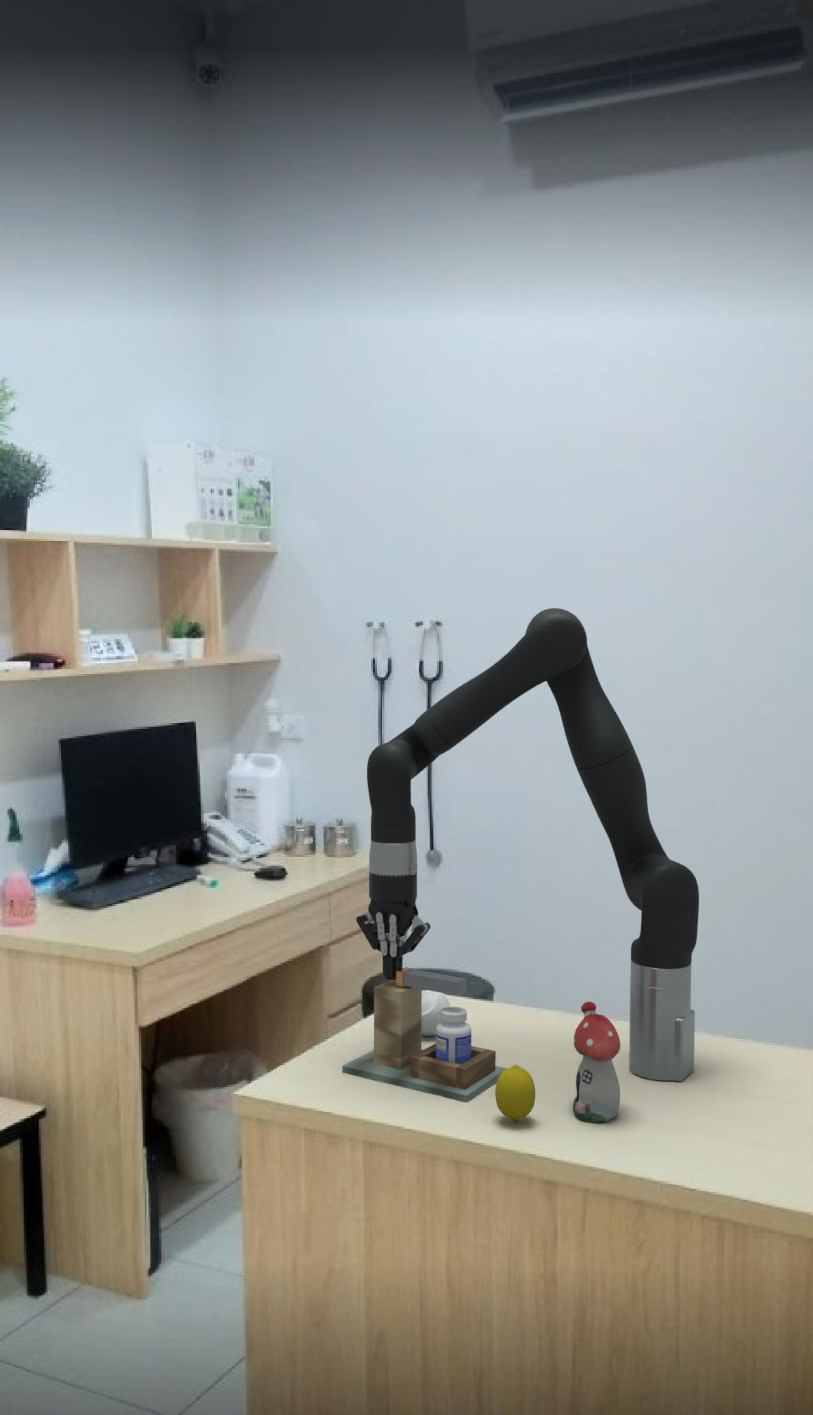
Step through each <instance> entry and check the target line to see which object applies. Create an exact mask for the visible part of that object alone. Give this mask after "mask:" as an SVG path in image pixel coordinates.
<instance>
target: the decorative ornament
mask: <svg viewBox="0 0 813 1415" xmlns="http://www.w3.org/2000/svg"><path fill="white" fill-rule="evenodd" d="M596 1010H597V1004H595V1002H592V1001H585V1002H584V1003H582V1005H581V1007H580V1011H581V1012H582V1014H583V1015H584V1017H583V1018H582V1020H581V1021H580V1022H579V1023H578V1025H577V1027H576V1029H575V1031H574V1036H573V1046H574V1049H575V1050H576V1052H577V1053H578V1054H579V1055H581V1056H582V1059H581V1061H580V1064H579V1065H578V1068H577V1069H578V1070H577V1072H576V1078H575V1088H576V1097H575V1098H574V1100H573V1103H572V1104H573V1105H572V1111H573V1114H574V1115H575V1117H576V1118H578V1120H579V1119H580V1120H581V1121H584V1122H587V1123H595V1124H601V1123H602V1124H603V1123H607V1122H609V1121H610V1120H612V1119H613V1118H615V1117H616V1116H617V1113H618V1112H619V1108H620V1104H621V1103H620V1102H621V1087H620V1081H619V1077H618V1075H617V1072H616V1068H615V1066H614V1063H613V1059H614V1058H615V1057H616V1056H617V1055H618V1054H619V1052H620V1050H621V1040H620V1036H619V1034H618V1032H617V1029H616V1027H615V1026H614V1024H613V1023H612V1021H611V1020H610V1019H609V1018H608V1017H607V1016H605V1015H603V1014H599V1013H597V1012H596Z"/></svg>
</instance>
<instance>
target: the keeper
mask: <svg viewBox="0 0 813 1415" xmlns="http://www.w3.org/2000/svg"><path fill="white" fill-rule="evenodd" d="M396 985H397V986H408V987H413V988H419V989H422V990H423V991H426V990H429V991H435V992H440V993H443V994H446V995H451V996H452V995H453V996H457V997H459V996H460V995H463V994H465V993H467V978H464V977H459V976H454V975H448V974H447V975H446V974H441V973H435V972H430V971H424V970H419V969H414V968H413V967H412V968H411V967H403V968H402V969H401V970H398V971H396Z"/></svg>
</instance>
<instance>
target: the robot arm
mask: <svg viewBox="0 0 813 1415" xmlns="http://www.w3.org/2000/svg"><path fill="white" fill-rule="evenodd" d="M545 682H546V683H547V686H548V687H549V689H550V691H551V693H552V695H553V697H554V699H555V702H556V705H557V707H558V710H559V714H560V718H561V723H562V726H563V731H564V734H565V738H566V741H567V742H566V743H567V745H568V747H569V750H570V754H571V757H572V759H573V763H574V765H575V768H576V771H577V772H578V775H579V776H580V780H581V782H582V784H583V786H584V788H585V791H586V793H587V795H588V796H589V799H590V802H591V804H592V806H593V809H594V810H595V812H596V815H597V817H598V819H599V821H600V823H601V825H602V827H603V830H604V831H605V834H606V836H607V838H608V839H609V844H610V845H611V848H612V851H613V854H614V857H615V861H616V863H617V864H616V865H617V868H618V870H619V871H618V872H619V875H620V878H621V881H622V885H623V888H624V890H625V894H626V896H627V897H628V899H629V901H630V902H631V904H633V906H634V907H635V908H637V909H638V910H640V911H641V917H640V930H639V931H640V932H639V936H638V938H635V939H634V940H633V941H632V942H631V946H630V976H629V977H630V978H629V980H630V982H629V984H630V985H629V986H630V990H629V992H630V994H629V1044H628V1045H629V1047H628V1048H629V1052H628V1060H629V1062H628V1068H629V1070H630V1071H631V1073H633V1074H635V1075H637V1076H638V1077H641V1078H645V1079H649V1080H656V1081H676V1082H683V1081H684V1080H685V1079H686V1078H687V1077H688V1076H689V1075H690V1074H691V1073H692V1072H693V1071H695V1070H694V1069H695V1034H696V1033H695V1031H696V1030H695V1029H696V1028H695V1027H696V1026H695V1025H696V1024H695V1022H696V1017H695V1016H696V1011H695V1010H694V1009H691V1007H692V1006H691V1005H692V1004H691V1001H692V997H691V995H692V955H693V952H694V950H695V948H696V944H697V940H698V939H697V938H698V930H699V929H698V928H699V911H700V909H699V908H700V890H699V885H698V880H697V878H696V876H695V874H694V872H693V871H691V870H690V868H688V867H687V866H685V865H684V864H681V863H680V862H677V861H674V860H672V859H670V858H669V856H668V855H667V853H666V851H665V849H664V848H663V846H662V844H661V842H660V839H659V838H658V836H657V834H656V832H655V830H654V827H653V825H652V821H651V819H650V818H651V817H650V814H649V805H648V795H647V794H648V792H647V784H646V778H645V774H644V771H643V768H642V765H641V763H640V760H639V757H638V754H637V752H636V750H635V748H634V745H633V744H632V740H631V738H630V737H629V734H628V732H627V730H626V729H625V727H624V725H623V723H622V720H621V718H620V717H619V716H618V715H619V714H618V713H617V712H616V710H615V708H614V706H613V705H612V703H611V702H610V700H609V698H608V696H607V694H606V692H605V691H604V690H603V688H602V685H601V682H600V680H599V677H598V675H597V672H596V670H595V666H594V662H593V660H592V656H591V653H590V649H589V647H588V636H587V632H586V629H585V627H584V625H583V623H582V621H581V620H580V619H579V618H578V616H576V615H575V614H574V613H572V612H570V611H568V610H566V609H563V608H558V607H553V608H552V607H550V608H546V609H543V610H541V611H540V612H538V613H536V614H535V615H534V616H533V617H532V618H531V620H530V621H529V623H528V625H527V628H526V630H525V634H524V635H523V636H522V637H521V638H520V639H519V640H518V642H517V643H516V644H515V645H514V646H513V647H511V649H510V650H509V651H508V652H507V653H506V654H505V655H503V657H501V658H500V659H499V660H497V661H496V662H494V663H493V664H492V665H491V666H489V668H487V669H485V670H484V671H482V672H481V673H479V674H477V675H476V676H474V677H473V678H471V679H469V680H467V681H466V682H464V683H463V684H461V685H460V686H458V687H456V688H455V689H453V690H452V691H450V692H449V693H448V694H447V695H445V696H443V697H442V698H441V699H439V700H438V701H437V702H436V703H434V704H433V705H432V706H430V707H429V708H428V709H427V710H424V712H422V713H421V714H420V715H419V716H418V717H417V719H416V720H415V722H414V723H413V724H411V725H410V726H409V727H408V728H406V729H405V730H403V731H402V732H400V733H399V734H397V735H396V736H394V737H393V738H392V739H391V740H388V741H387V742H384V743H382V744H379V745H378V746H376V747H375V748H374V749H373V750H372V751H371V753H370V754H369V756H368V759H367V766H366V783H367V790H368V797H369V804H370V808H371V809H370V810H371V811H370V812H371V814H370V844H369V845H370V846H369V854H368V858H369V859H368V865H369V866H368V897H369V899H370V902H369V904H368V908H367V911H366V912H365V913H363V914H361V915H358V916H357V917H356V919H355V921H356V923H357V924H358V927H359V928H360V930H361V931H362V933H363V934H364V937H365V939H366V940H367V942H368V943H369V945H370V947H371V948H372V950H373V951H378V952H380V953H381V955H382V974H383V976H384V979H386V980H388V981H390V980H396V971H398V970H401V969H403V968H404V967H403V966H404V965H403V960H404V958H403V957H404V955H406V954H408V953H411V952H414V950H416V947H417V946H419V944H420V943H421V941H422V940H423V939H424V937H425V936H426V935H427V934H428V932H429V931H430V929H431V924H430V923H429V922H424V921H423V920H422V919H421V918H420V917H419V911H418V908H417V904H416V902H417V897H418V851H417V843H416V842H417V841H416V840H417V838H416V837H417V835H416V834H417V833H416V832H417V830H416V829H417V821H416V819H417V818H416V811H415V810H416V809H415V807H414V806H413V805H412V786H411V784H412V780H413V779H414V778H415V777H417V776H418V775H419V774H420V773H422V771H424V770H425V769H426V768H427V767H428V766H430V765H431V764H432V763H433V762H434V761H435V760H436V759H437V758H438V757H439V756H441V755H443V754H445V753H447V752H449V751H450V750H452V749H453V748H454V747H456V746H457V745H458V744H459V743H461V742H462V741H464V740H465V739H466V738H468V737H470V735H472V734H473V733H474V732H475V731H477V730H478V729H479V728H480V727H481V726H483V725H484V724H486V723H487V722H488V721H489V720H490V719H491V718H492V717H494V716H496V715H497V714H498V713H499V712H500V711H502V710H503V709H505V707H507V706H508V705H510V704H511V703H513V702H514V701H515V700H517V699H518V698H520V697H521V696H522V695H524V694H526V693H528V692H529V691H531V690H532V689H534V688H536V687H538V686H540V685H541V684H543V683H545ZM410 928H411V929H410ZM409 930H410V931H411V933H410V934H409V936H408V933H409V932H408V931H409Z"/></svg>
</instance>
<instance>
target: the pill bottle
mask: <svg viewBox="0 0 813 1415" xmlns="http://www.w3.org/2000/svg"><path fill="white" fill-rule="evenodd" d="M467 1012H468V1011H467V1010H466V1009H465V1008H463V1007H459V1006H450V1007H446V1008H443V1009H441V1012H440V1019H441V1021H442V1022H441V1023H439V1024H438V1025H437V1027H436V1035H435V1043H436V1059H439V1060H443V1061H448V1062H452V1063H457V1064H461V1065H462V1064H463V1063H465V1062H467V1061H468V1060H470V1059H471V1046H472V1027H471V1025H470V1024H469V1023H468V1022H466V1021H467V1019H468V1018H467V1017H468V1016H467V1015H468V1013H467Z"/></svg>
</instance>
